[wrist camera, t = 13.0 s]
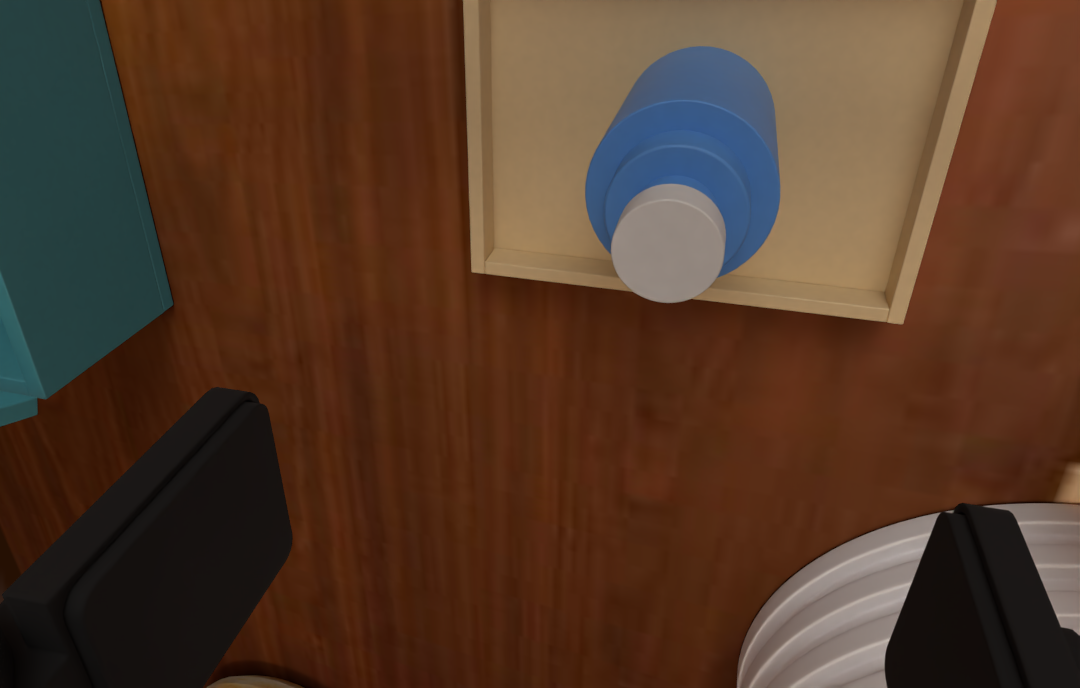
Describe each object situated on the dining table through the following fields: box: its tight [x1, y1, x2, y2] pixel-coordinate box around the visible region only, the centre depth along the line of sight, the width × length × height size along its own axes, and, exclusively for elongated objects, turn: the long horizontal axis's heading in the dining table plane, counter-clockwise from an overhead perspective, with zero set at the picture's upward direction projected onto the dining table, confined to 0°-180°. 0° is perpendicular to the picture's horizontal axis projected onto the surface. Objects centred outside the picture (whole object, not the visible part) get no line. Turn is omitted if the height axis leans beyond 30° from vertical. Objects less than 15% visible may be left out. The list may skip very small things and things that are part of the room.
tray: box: [463, 0, 997, 324], centre depth 29 cm, size 17×13×2 cm
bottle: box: [585, 46, 780, 303], centre depth 25 cm, size 6×6×12 cm
